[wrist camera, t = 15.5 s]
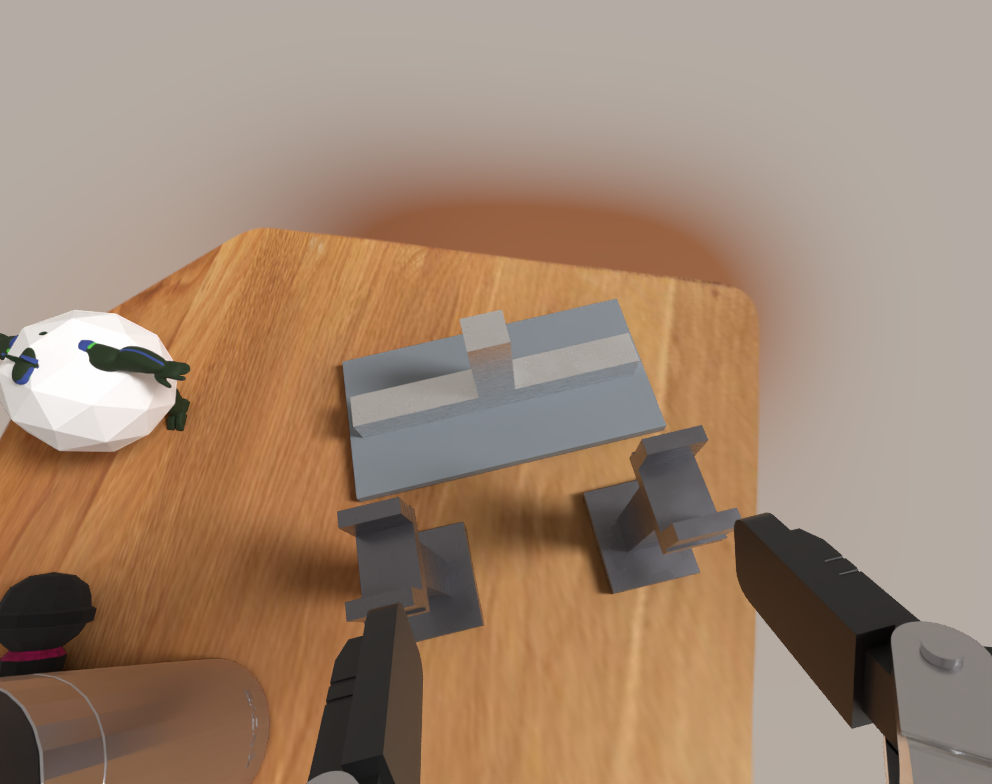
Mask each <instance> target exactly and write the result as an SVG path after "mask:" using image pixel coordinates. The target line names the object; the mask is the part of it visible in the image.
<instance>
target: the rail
mask: <svg viewBox="0 0 992 784" xmlns="http://www.w3.org/2000/svg"><path fill="white" fill-rule="evenodd" d="M460 323H461V328H462V332H463V336H464V341H465V345H466V350H467V354H468V358H469V362H470V365H471V369H470V370H465V371H461V372H457V373H452V374H448V375H444V376H439V377H435V378H431V379H426V380H422V381H418V382H413V383H409V384H405V385H400V386H396V387H392V388H387V389H383V390H379V391H374V392H370V393H366V394H361V395H357V396H353V397H350V401H351V411H352V420H353V427H354V428H355V429H356V430H357V431H358V433H359V434H360V435H361V436H362V437H363V438H366V437H370V436H375V435H379V434H383V433H388V432H392V431H396V430H401V429H405V428H409V427H413V426H418V425H422V424H426V423H431V422H435V421H439V420H443V419H448V418H452V417H456V416H461V415H465V414H469V413H474V412H478V411H482V410H486V409H491V408H495V407H499V406H504V405H508V404H512V403H517V402H521V401H525V400H529V399H534V398H538V397H542V396H547V395H551V394H555V393H559V392H564V391H568V390H572V389H577V388H581V387H585V386H590V385H594V384H598V383H602V382H607V381H611V380H615V379H620V378H624V377H628V376H633V375H634V373H635V371H636V368H637V365H638V362H639V358H638V356H637V353H636V351H635V348H634V345H633V343H632V340H631V338H630V335H629V333H625V334H621V335H617V336H612V337H608V338H604V339H600V340H595V341H591V342H587V343H582V344H578V345H574V346H569V347H565V348H561V349H556V350H552V351H548V352H543V353H539V354H535V355H530V356H526V357H522V358H517V359H513V360H512V351H511V342H510V338H509V334H508V331H507V327H506V323H505V319H504V316H503V312H502V310H498V311H493V312H489V313H485V314H480V315H476V316H472V317H467V318H463V319H460Z"/></svg>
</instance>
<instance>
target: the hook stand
mask: <svg viewBox="0 0 992 784" xmlns="http://www.w3.org/2000/svg"><path fill="white" fill-rule="evenodd" d="M707 441H708V438H707V436H706V434H705V431H704V429H703V427H702V425H700V426H696V427H692V428H688V429H683V430H679V431H675V432H671V433H666V434H662V435H658V436H654V437H650V438H645V439H642V440H641V442H640V444H639V446H638V448H637V449H636V451H635V452H633V453H632V454H631V456H630V461H631V464H632V467H633V470H634V473H635V476H636V479H637V480H635V481H631V482H627V483H623V484H619V485H615V486H610V487H606V488H602V489H598V490H594V491H589V492H585V493H584V494H583V499H584V502H585V505H586V509H587V512H588V515H589V519H590V522H591V525H592V529H593V532H594V536H595V539H596V542H597V546H598V549H599V552H600V556H601V559H602V563H603V566H604V569H605V573H606V576H607V579H608V583H609V586H610V589H611V593H612V594H615V593H620V592H624V591H628V590H632V589H636V588H640V587H644V586H648V585H652V584H656V583H661V582H665V581H669V580H673V579H677V578H681V577H685V576H689V575H693V574H697V573H700V570H699V568H698V565H697V562H696V560H695V557H694V554H693V552H692V549H691V548H694V547H698V546H702V545H706V544H710V543H714V542H718V541H722V540H724V539H726V538H727V536H726V534H728V533H730V532H732V531H734V524H735V521H736V520H739V519H741V516H740V514H739V512H738V509H737V508H733V509H729V510H725V511H721V512H716V509H715V507H714V504H713V502H712V499H711V497H710V494H709V492H708V489H707V487H706V484H705V482H704V479H703V477H702V475H701V472H700V470H699V467H698V465H697V462H696V460H695V457H694V456H695V455H696V454H697V452H698V451H699V450H700V449H701V448H702V447H703V446H704V445H705V443H706V442H707ZM337 515H338V527H339V529H341V530H343V531H345V532H347V533H349V534H351V535H353V536H355V537H356V544H357V554H358V564H359V574H360V584H361V594H362V598H361V599H356V600H352V601H348V602H345V607H346V619H347V622H364V624H365V622H366V616H367V612H368V611H369V610H371V609H375V608H379V607H383V606H387V605H391V604H395V603H399V602H401V603H402V605H403V607H404V609H405V612H406V615H407V618H408V621H409V624H410V627H411V630H412V633H413V636H414V638H415V641H416V642H419V641H423V640H427V639H431V638H435V637H439V636H443V635H447V634H451V633H456V632H460V631H464V630H468V629H472V628H476V627H480V626H484V621H483V615H482V610H481V605H480V600H479V595H478V589H477V584H476V579H475V574H474V568H473V563H472V558H471V553H470V548H469V542H468V537H467V532H466V527H465V524H464V522H460V523H456V524H451V525H447V526H443V527H439V528H435V529H430V530H426V531H422V532H418V530H417V523H416V517H415V510H414V509H413V508H412V507H411V506H408V505H407V504H406V503H405V502H404V501H402V500H401V499H400V498H399V497H397V498H393V499H388V500H384V501H380V502H376V503H371V504H367V505H363V506H359V507H355V508H350V509H346V510H342V511H338V512H337Z"/></svg>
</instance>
